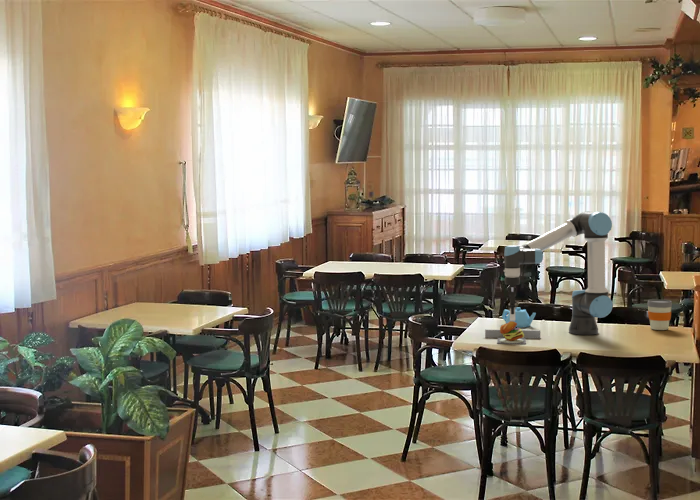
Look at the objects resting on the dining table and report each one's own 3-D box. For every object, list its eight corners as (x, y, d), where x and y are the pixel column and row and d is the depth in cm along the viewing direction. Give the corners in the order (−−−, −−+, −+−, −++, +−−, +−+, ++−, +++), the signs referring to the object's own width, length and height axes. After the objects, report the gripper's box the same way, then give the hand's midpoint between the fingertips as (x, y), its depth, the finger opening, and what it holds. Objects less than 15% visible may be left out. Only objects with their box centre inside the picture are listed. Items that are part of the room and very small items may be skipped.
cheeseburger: (525, 339, 412) (517, 321, 411) (504, 346, 415) (497, 328, 414) (524, 334, 422) (517, 316, 421) (504, 341, 425) (497, 323, 424)
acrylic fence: (540, 338, 427) (540, 330, 427) (540, 338, 426) (540, 330, 425) (485, 337, 432) (485, 329, 432) (485, 337, 431) (485, 329, 431)
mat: (525, 339, 424) (525, 338, 424) (525, 344, 410) (525, 343, 410) (497, 338, 427) (497, 337, 427) (497, 343, 413) (497, 342, 413)
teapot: (526, 323, 472) (526, 305, 472) (536, 328, 458) (536, 308, 457) (500, 325, 470) (500, 306, 469) (510, 329, 455) (510, 309, 454)
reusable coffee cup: (646, 329, 446) (646, 302, 444) (647, 326, 457) (647, 299, 456) (671, 330, 441) (671, 302, 440) (672, 327, 452) (672, 299, 451)
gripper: (505, 273, 429) (505, 314, 430) (504, 279, 404) (504, 322, 406) (519, 273, 427) (520, 314, 429) (520, 279, 403) (520, 322, 405)
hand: (512, 318), depth 417 cm, fingers open, 13 cm apart
